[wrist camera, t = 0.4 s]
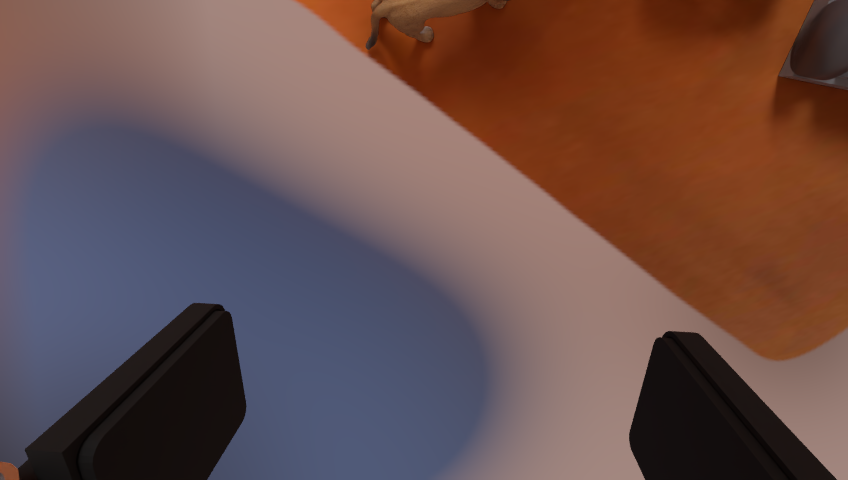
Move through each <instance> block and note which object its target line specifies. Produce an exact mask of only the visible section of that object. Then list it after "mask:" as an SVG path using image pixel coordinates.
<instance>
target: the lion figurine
mask: <svg viewBox="0 0 848 480" xmlns="http://www.w3.org/2000/svg"><path fill="white" fill-rule="evenodd" d="M507 1H509V0H374V1H373V2H372V5H371V7H372V12H373V13H372V16H371V24H372V32H371V37H370V38H369V40H368V41H367V43H366V48H367V50H369V49H370V48H371V47H373V46H374V45H375V43H376V41H377V37H378V29H379V21H380V18H381V17H385V18H387V19H388V21H389V22H390V23H391V24H392V25H393V26H394V27H395V28H397V29H398V30H399V31H401V32H403V33H405V34H406V35H408V36H410V37H413V38H416V39H418V40H419V41H422V42H431V40H432V39H433V37H434V34H433V30H432V28H431V27H428V26H425V27H424V23H425V21H426V20H427V19H429V18H434V17H449V16H454V15H457V14H460V13H465V12H468V11H471V10H474V9H476V8H478V7H480V6H482V5H484V4H485V3H486V2H488V3H489V4H490V5H491V6H492V7H494V8H497V9H501V8H503V7H504V6H505V4H506V2H507Z"/></svg>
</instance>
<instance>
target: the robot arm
mask: <svg viewBox="0 0 848 480" xmlns="http://www.w3.org/2000/svg"><path fill="white" fill-rule="evenodd" d="M245 413H246V400H245V395H244V388H243V382H242V376H241V370H240V364H239V358H238V352H237V347H236V340H235V334H234V328H233V322H232V317H231V314H230V313H229V312H227V311H225V309H224V308H223V306H222V305H219V304H205V303H193V304H191V305H190V306H189V307H187V308H186V309H185V310H184V311H183V312H182V313H181V314H179V315H178V316H177V317H176V318H175V319H174V320H172V321H171V322H170V323H169V324H168V325H167V326H166V327H165V328H163V329H162V330H161V331H160V332H159V333H158V334H156V335H155V336H154V337H153V338H152V339H151V340H150V341H149V342H147V343H146V344H145V345H144V346H143V347H142V348H141V349H139V350H138V351H137V352H136V353H135V354H134V355H132V356H131V357H130V358H129V359H128V360H127V361H126V362H124V363H123V364H122V365H121V366H120V367H119V368H118V369H116V370H115V371H114V372H113V373H112V374H111V375H110V376H108V377H107V378H106V379H105V380H104V381H103V382H101V384H99V385H98V386H97V387H96V388H95V389H93V390H92V391H91V392H90V393H89V394H88V395H87V396H85V397H84V398H83V399H82V400H81V401H80V402H79V403H77V404H76V405H75V406H74V407H73V408H72V409H71V410H69V411H68V412H67V413H66V414H65V415H64V416H62V417H61V418H60V419H59V420H58V421H57V422H56V423H54V425H52V426H51V427H50V428H49V429H48V430H47V431H45V432H44V433H43V434H42V435H41V436H40V437H38V438H37V439H36V440H35V441H34V442H33V443H32V444H30V445H29V446H28V447H27V448H26V449H25V452H26V454H27V456H28V460H27V461H26V462H25V463H24V464H23V465H22V466H20V467H19V468H18V469H17V468H15V467H14V466H13V465H12V464H10V463H5V462H0V480H207V479H208V477H209V475H210V474H211V472H212V471H213V469H214V467H215V466H216V464H217V462H218V461H219V459H220V457H221V456H222V454H223V453H224V451H225V449H226V447H227V446H228V444H229V443H230V441H231V440H232V438H233V436H234V435H235V433H236V431H237V429H238V428H239V426H240V425H241V423H242V421H243V419H244V416H245ZM629 441H630V447H631V450H632V452H633V455H634V457H635V459H636V461H637V463H638V465H639V467H640V469H641V472H642V474H643V476H644V478H645V480H837V479H836V478H835V477H834V476H833V475H832V474H831V473H830V472H829V471H828V470H827V469H826V468H825V467H824V466H823V464H821V462H820V461H819V460H818V459H817V458H816V457H815V456H814V455H813V454H812V453H811V452H810V451H809V450H808V449H807V447H806V446H805V445H803V443H802V442H801V441H800V440H799V439H798V438H797V437H796V436H795V435H794V434H793V433H792V432H791V430H790V429H789V428H788V427H787V426H786V425H785V424H784V423H783V422H782V421H781V420H780V419H779V418H778V417H777V416H776V415H775V413H774V412H773V411H772V410H771V409H770V408H769V407H768V406H767V405H766V404H765V403H764V402H763V401H762V400H761V399H760V398H759V397H758V395H757V394H756V393H755V392H754V391H753V390H752V389H751V388H750V387H749V386H748V385H747V384H746V383H745V382H744V380H743V379H742V378H741V377H740V376H739V375H738V374H737V373H736V372H735V371H734V370H733V369H732V368H731V367H730V366H729V365H728V363H727V362H726V361H725V360H724V359H723V358H722V357H721V356H720V355H719V354H718V353H717V352H716V351H715V350H714V349H713V348H712V346H710V344H708V342H707V341H706V340H705V339H704V338H703V337H702V336H701V335H699V334H698V333H691V332H675V331H674V332H672V331H668V332H666V333H665V334H664V335H663V337H662V338H661V337H659V338H657V339H656V340H655V342H654V345H653V349H652V352H651V356H650V360H649V363H648V367H647V370H646V374H645V378H644V381H643V385H642V389H641V392H640V396H639V400H638V403H637V407H636V411H635V414H634V418H633V422H632V425H631V429H630V433H629Z"/></svg>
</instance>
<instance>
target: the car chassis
mask: <svg viewBox="0 0 848 480" xmlns="http://www.w3.org/2000/svg"><path fill="white" fill-rule="evenodd" d="M779 76H781V77H785V78H790V79H795V80H800V81H805V82H810V83H815V84H819V85H824V86H829V87H834V88H839V89H844V90H848V0H814V2H813V4H812V6H811V8H810V11H809V13H808V15H807V17H806V19H805V21H804V23H803V25H802V27H801V29H800V32H799V34H798V36H797V38H796V40H795V42H794V44H793V46H792V48H791V50H790V53H789V55H788V57H787V59H786V61H785V63H784V65H783V67H782V69H781V71H780V74H779Z"/></svg>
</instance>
